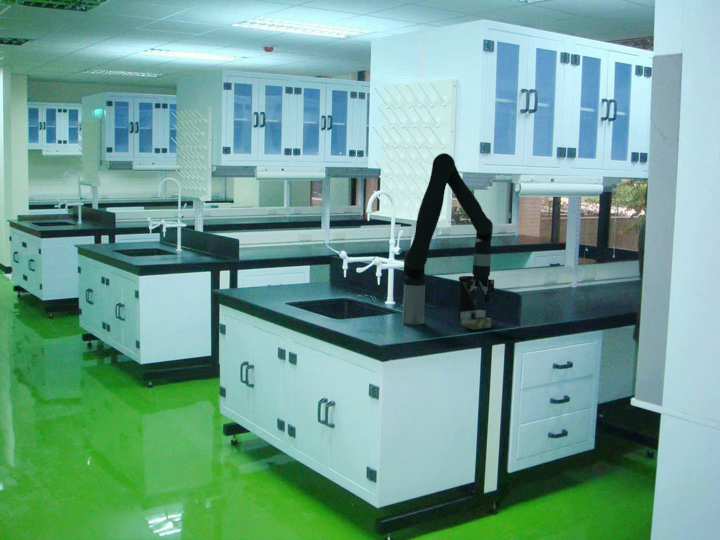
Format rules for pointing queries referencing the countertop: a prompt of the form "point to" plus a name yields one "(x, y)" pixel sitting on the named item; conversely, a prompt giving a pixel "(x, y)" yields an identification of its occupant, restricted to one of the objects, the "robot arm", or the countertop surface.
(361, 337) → the countertop surface
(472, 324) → the slot block
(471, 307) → the container
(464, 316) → the grey rectangular bar
